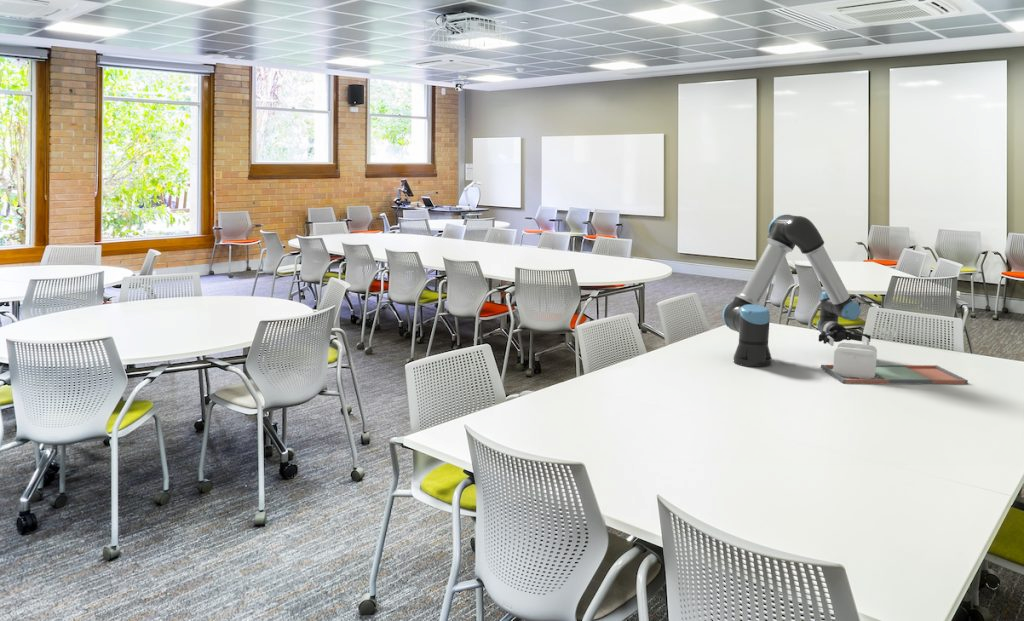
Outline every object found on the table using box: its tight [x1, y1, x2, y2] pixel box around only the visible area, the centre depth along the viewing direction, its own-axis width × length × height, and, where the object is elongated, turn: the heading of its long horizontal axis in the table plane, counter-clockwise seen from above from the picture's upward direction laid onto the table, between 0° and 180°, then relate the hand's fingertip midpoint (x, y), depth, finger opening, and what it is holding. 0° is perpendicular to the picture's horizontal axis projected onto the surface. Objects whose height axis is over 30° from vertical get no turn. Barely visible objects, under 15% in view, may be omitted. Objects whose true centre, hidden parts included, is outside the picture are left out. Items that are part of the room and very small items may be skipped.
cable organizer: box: [832, 342, 878, 379], centre depth 306 cm, size 15×11×12 cm
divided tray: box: [820, 364, 969, 385], centre depth 306 cm, size 46×23×1 cm, turn 89°
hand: (850, 342), depth 314 cm, fingers open, 13 cm apart
